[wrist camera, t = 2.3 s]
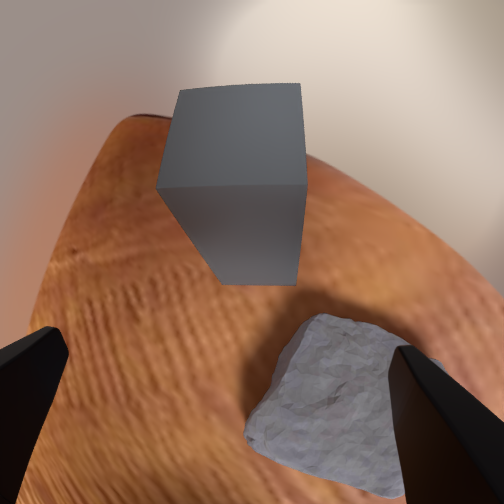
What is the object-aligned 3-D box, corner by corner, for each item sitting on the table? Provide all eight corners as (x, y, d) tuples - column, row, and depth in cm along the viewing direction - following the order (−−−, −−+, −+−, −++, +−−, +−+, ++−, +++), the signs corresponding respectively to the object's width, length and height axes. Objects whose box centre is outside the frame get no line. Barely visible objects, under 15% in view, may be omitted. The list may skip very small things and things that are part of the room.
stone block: (297, 315, 23) (234, 441, 18) (309, 288, 19) (231, 447, 14) (434, 371, 20) (389, 494, 16) (470, 356, 16) (421, 506, 12)
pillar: (295, 285, 22) (307, 184, 10) (222, 284, 22) (155, 188, 10) (295, 218, 23) (300, 83, 12) (227, 218, 24) (180, 90, 12)
